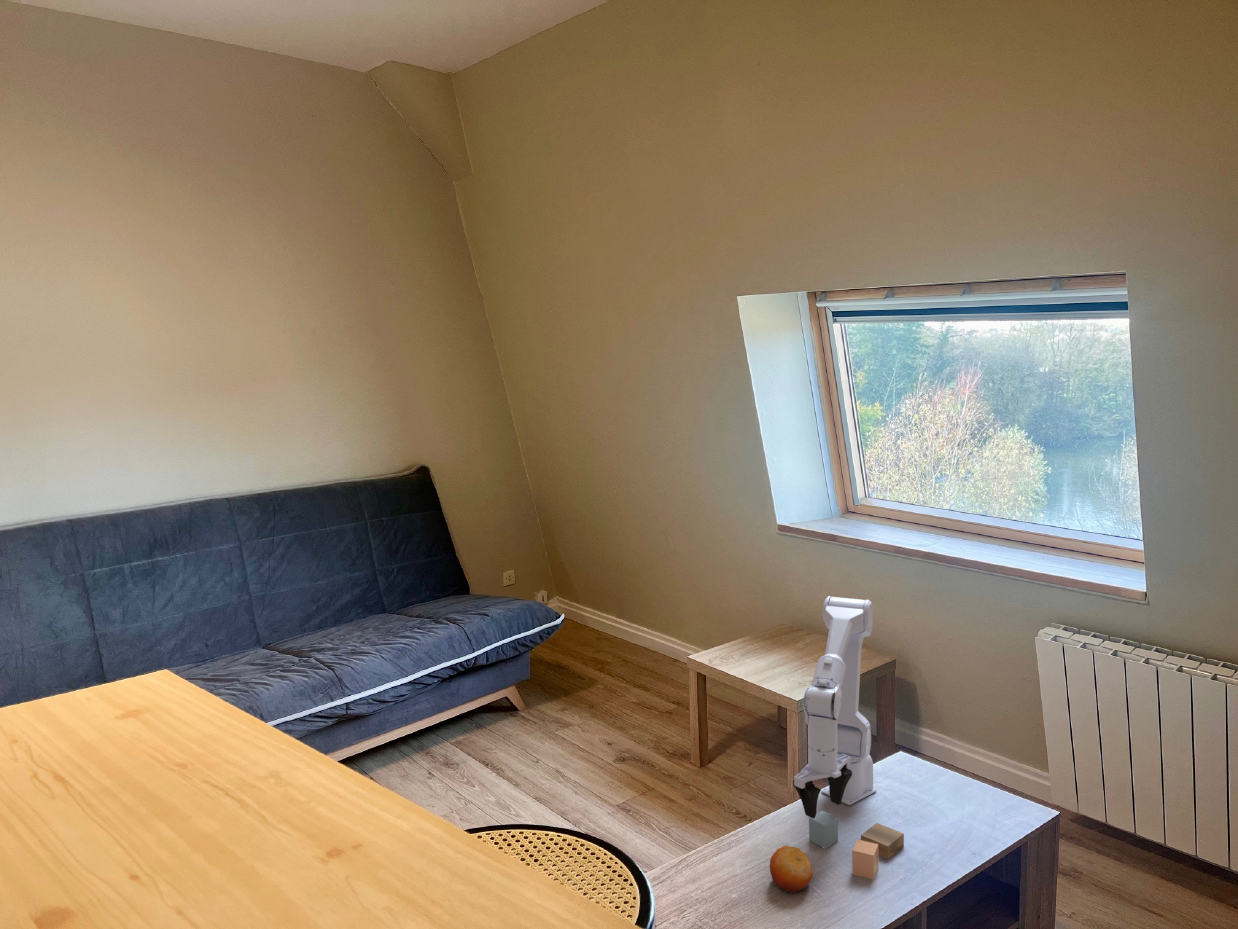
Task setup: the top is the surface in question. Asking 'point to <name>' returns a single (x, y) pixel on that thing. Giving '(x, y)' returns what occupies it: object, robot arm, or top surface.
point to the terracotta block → (865, 859)
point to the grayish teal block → (823, 829)
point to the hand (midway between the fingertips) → (823, 809)
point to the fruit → (790, 869)
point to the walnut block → (884, 839)
